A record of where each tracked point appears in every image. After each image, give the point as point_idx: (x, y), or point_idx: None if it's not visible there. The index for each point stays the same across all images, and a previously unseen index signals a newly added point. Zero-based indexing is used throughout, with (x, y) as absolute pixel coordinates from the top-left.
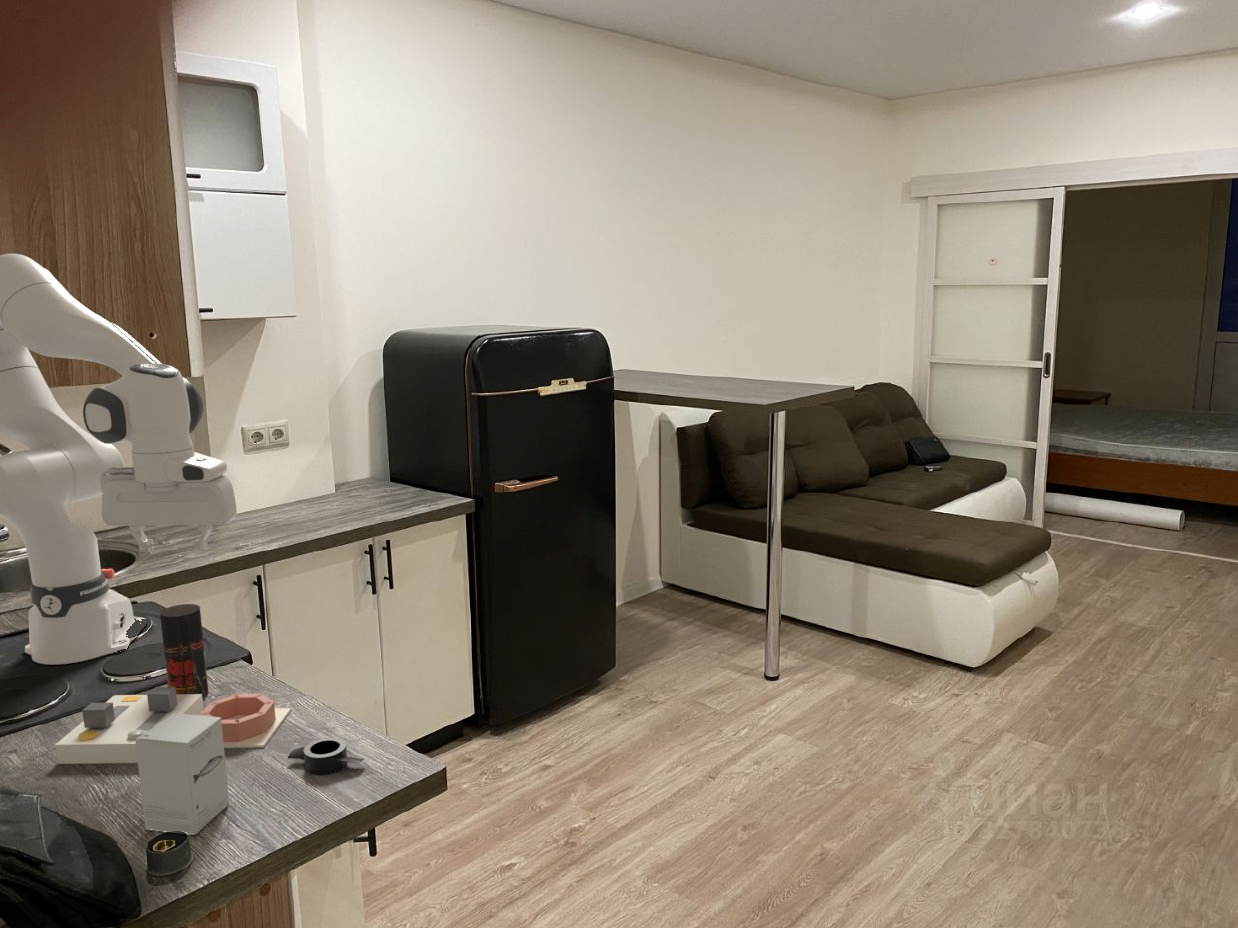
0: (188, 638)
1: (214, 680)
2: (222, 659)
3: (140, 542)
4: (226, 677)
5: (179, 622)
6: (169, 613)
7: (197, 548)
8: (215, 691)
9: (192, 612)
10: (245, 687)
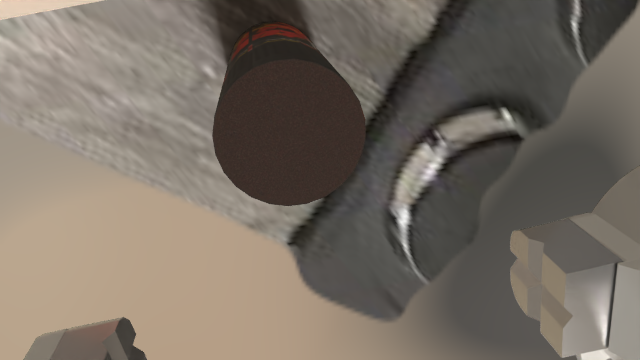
0: (231, 70)
1: None
2: (320, 251)
3: (629, 253)
4: None
5: (248, 66)
6: (310, 94)
7: (79, 334)
8: None
9: (219, 122)
10: (165, 132)
